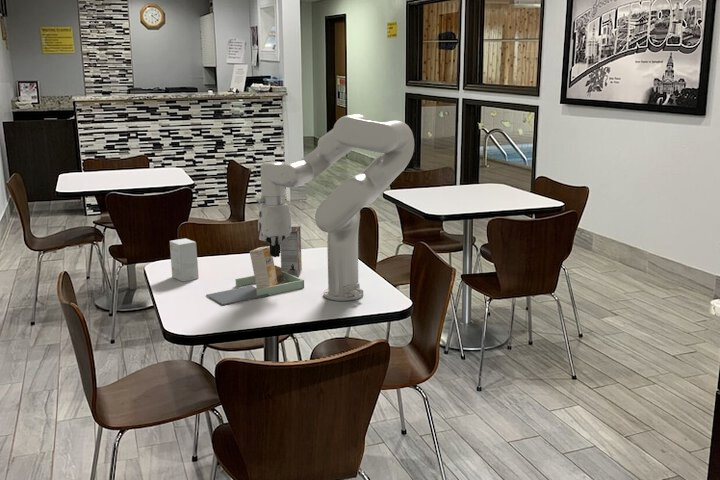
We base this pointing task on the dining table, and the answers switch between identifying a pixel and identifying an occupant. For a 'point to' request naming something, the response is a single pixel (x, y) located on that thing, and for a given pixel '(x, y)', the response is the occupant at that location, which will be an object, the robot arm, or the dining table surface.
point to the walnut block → (278, 273)
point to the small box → (184, 259)
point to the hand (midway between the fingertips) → (275, 256)
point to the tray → (294, 284)
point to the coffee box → (291, 253)
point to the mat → (235, 295)
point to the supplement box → (263, 267)
